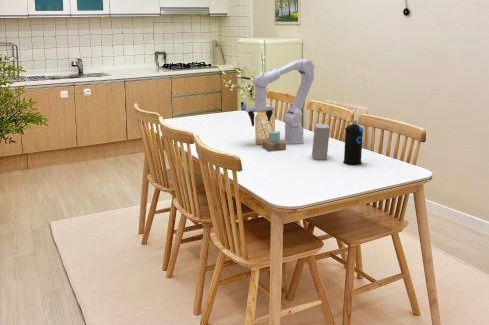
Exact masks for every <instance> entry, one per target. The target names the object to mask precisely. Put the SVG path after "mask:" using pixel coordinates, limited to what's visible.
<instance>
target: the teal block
mask: <svg viewBox="0 0 489 325" xmlns="http://www.w3.org/2000/svg"><path fill="white" fill-rule="evenodd" d="M268 140H269V143H279V142H280V140H281V130H278V131H277V130H270V131H269V132H268Z"/></svg>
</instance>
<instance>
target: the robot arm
mask: <svg viewBox="0 0 489 325" xmlns="http://www.w3.org/2000/svg"><path fill="white" fill-rule="evenodd" d="M314 70H315V65H314V63H313V61H312V60H310V59H304V58H301V57H300V58H297V59H294V60H293V61H291V62H289V63H288V64H286V65H284V66H281V67H280V68H277V69H276V68H269V70H268V71H266V72H261V74H259V75H258V74H257V75H256V76H255V77H254V78H253V81H252V83H253V85H254V107H246V108H245V112H246V113H247V114H248V116H249V119H250V122H251V126H252V127H255V114H256V112H257V113H258V112H259V113H260V112H262V113H263V112H264V113H265V116H266V115H267V117H268V121H269V122H270V121H271V118H272V117H273V116H272V115H273V114H274V113H273V112H275V107H274V106H267V86H268V85H269V84H271V83H273V82H276V81H277V80H279V79H280V77H281V76H282V75H285V74H287V73H290V72H292V71H297V72H298V73H299V74H300V76H301V78H302V79H301V81H300V85H299V86H298V89H297V91H296V93H295V94H296V95H295V96H294V99H293V102H292V104H291V106H290V107H289V108H287V111H286V112H285V113H284V115H283V119H282V120H283V122H284V139H282V140H281V141H283V142H285V143H286V145H294V144H304V128H303V126H302V125H301V123H302V116H303V112H302V109H303V106H304V104H305V101H306V99H307V96H308V94H309V92H310V89H311V86H312V84H313V82H314V78H315V74H314V73H315V72H314Z"/></svg>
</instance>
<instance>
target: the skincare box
mask: <svg viewBox="0 0 489 325" xmlns="http://www.w3.org/2000/svg"><path fill="white" fill-rule="evenodd" d="M330 131H331V128H330V125H329V124H328V123H314V129H313V139H312V151H311V156H312V159H313V160H322V161H323V160H325V161H327V160H328V151H329V139H330Z"/></svg>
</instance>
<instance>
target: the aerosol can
mask: <svg viewBox="0 0 489 325" xmlns="http://www.w3.org/2000/svg"><path fill="white" fill-rule="evenodd" d="M344 130H345V133H344V134H345V135H344V136H345V137H344V150H343V151H344V154H343V161H342V163H343V164H345V165H347V166H359V164H360V165H361V164H362V155H363V154H362V152H363V136H364V128H363V127H362V126H361V125H359V124H358V119H352V123H351V124H349V125H348V126H346V127H345V129H344Z"/></svg>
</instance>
